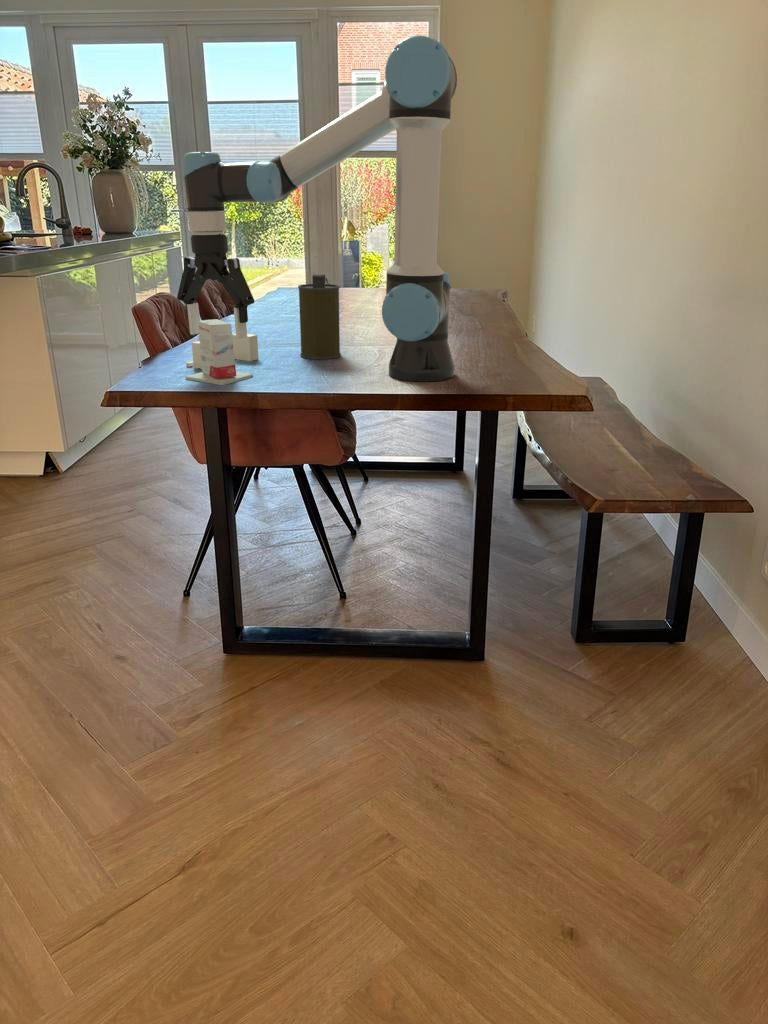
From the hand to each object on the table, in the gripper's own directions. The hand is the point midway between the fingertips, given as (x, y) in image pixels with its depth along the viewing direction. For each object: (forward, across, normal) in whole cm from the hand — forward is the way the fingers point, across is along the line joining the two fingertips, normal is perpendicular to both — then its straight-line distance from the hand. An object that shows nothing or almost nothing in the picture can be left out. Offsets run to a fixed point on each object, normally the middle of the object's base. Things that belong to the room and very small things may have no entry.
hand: (218, 336), depth 168 cm
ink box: (+9, +1, 0) cm, 9 cm away
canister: (+10, -3, -34) cm, 35 cm away
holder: (+9, +11, -13) cm, 19 cm away
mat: (+9, +1, 0) cm, 9 cm away
